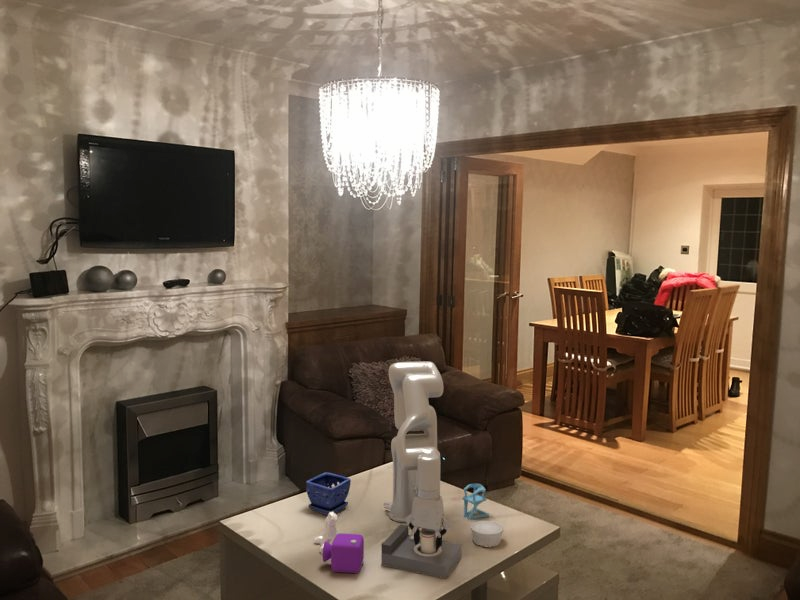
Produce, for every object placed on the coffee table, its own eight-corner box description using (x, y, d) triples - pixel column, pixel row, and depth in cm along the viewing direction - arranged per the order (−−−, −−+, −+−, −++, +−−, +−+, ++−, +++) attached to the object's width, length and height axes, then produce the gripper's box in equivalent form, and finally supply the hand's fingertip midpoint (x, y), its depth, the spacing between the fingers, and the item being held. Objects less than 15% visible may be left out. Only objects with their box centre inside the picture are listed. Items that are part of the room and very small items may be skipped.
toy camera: (321, 559, 214) (321, 530, 213) (363, 558, 215) (363, 528, 215) (320, 576, 204) (320, 545, 203) (364, 574, 205) (364, 544, 204)
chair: (459, 515, 250) (459, 484, 249) (474, 509, 255) (475, 479, 254) (473, 522, 244) (473, 491, 243) (489, 516, 249) (489, 485, 248)
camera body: (381, 564, 211) (381, 544, 210) (400, 543, 226) (400, 524, 225) (445, 578, 203) (446, 557, 202) (461, 556, 217) (461, 535, 217)
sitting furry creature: (313, 542, 226) (312, 508, 225) (336, 537, 230) (336, 505, 229) (320, 554, 218) (320, 519, 217) (345, 549, 221) (345, 515, 220)
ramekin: (465, 537, 231) (465, 522, 231) (492, 532, 235) (493, 518, 235) (480, 551, 221) (480, 536, 221) (508, 545, 225) (509, 531, 225)
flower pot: (352, 507, 256) (352, 477, 255) (331, 519, 245) (331, 488, 244) (325, 499, 264) (325, 471, 262) (304, 511, 252) (304, 481, 251)
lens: (418, 560, 212) (418, 532, 211) (423, 553, 216) (423, 526, 216) (432, 563, 210) (432, 535, 209) (438, 556, 215) (438, 529, 214)
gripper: (399, 492, 211) (398, 545, 213) (450, 500, 204) (449, 555, 206) (407, 484, 218) (407, 535, 220) (457, 492, 211) (456, 545, 213)
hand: (427, 544), depth 213 cm, fingers open, 6 cm apart
